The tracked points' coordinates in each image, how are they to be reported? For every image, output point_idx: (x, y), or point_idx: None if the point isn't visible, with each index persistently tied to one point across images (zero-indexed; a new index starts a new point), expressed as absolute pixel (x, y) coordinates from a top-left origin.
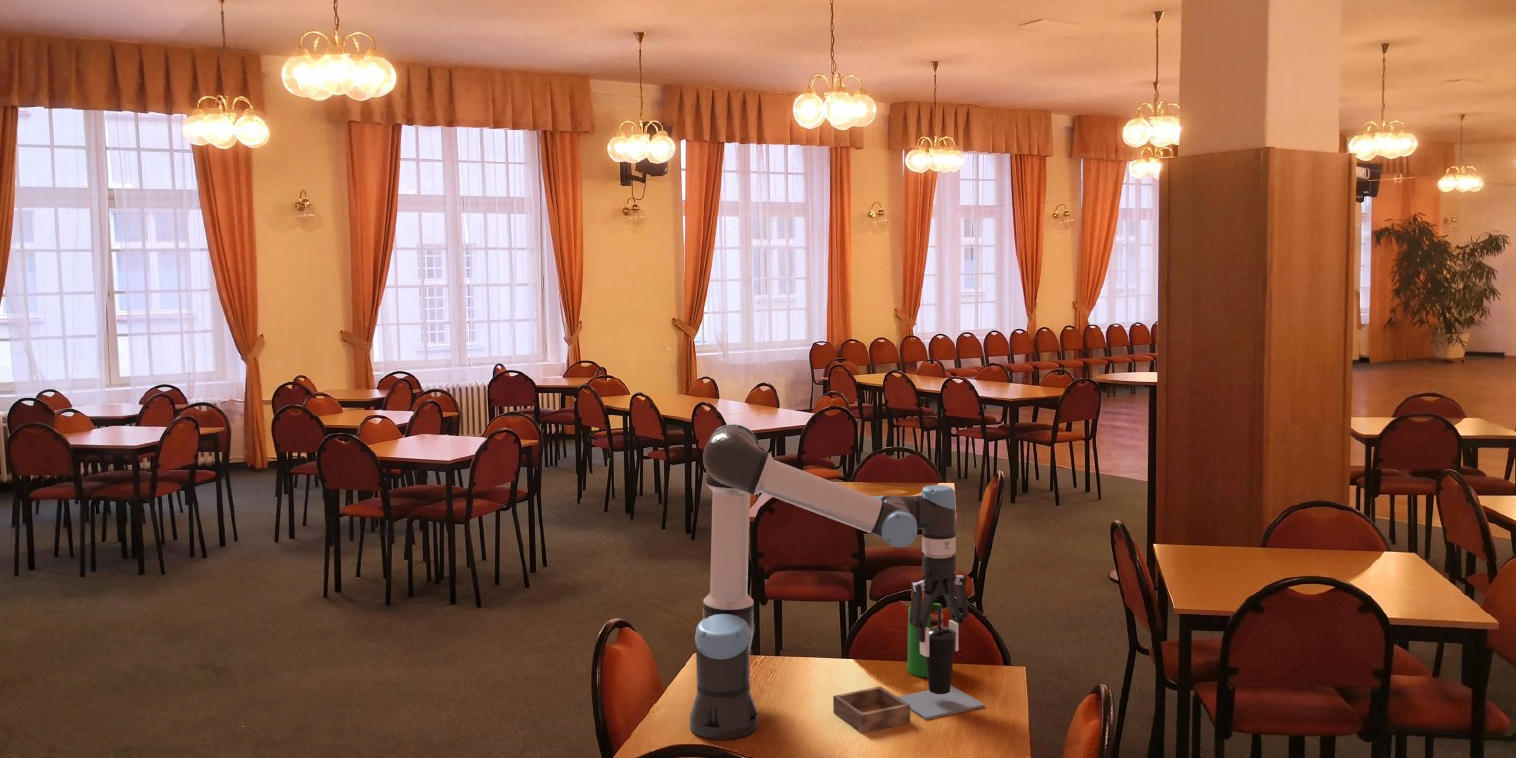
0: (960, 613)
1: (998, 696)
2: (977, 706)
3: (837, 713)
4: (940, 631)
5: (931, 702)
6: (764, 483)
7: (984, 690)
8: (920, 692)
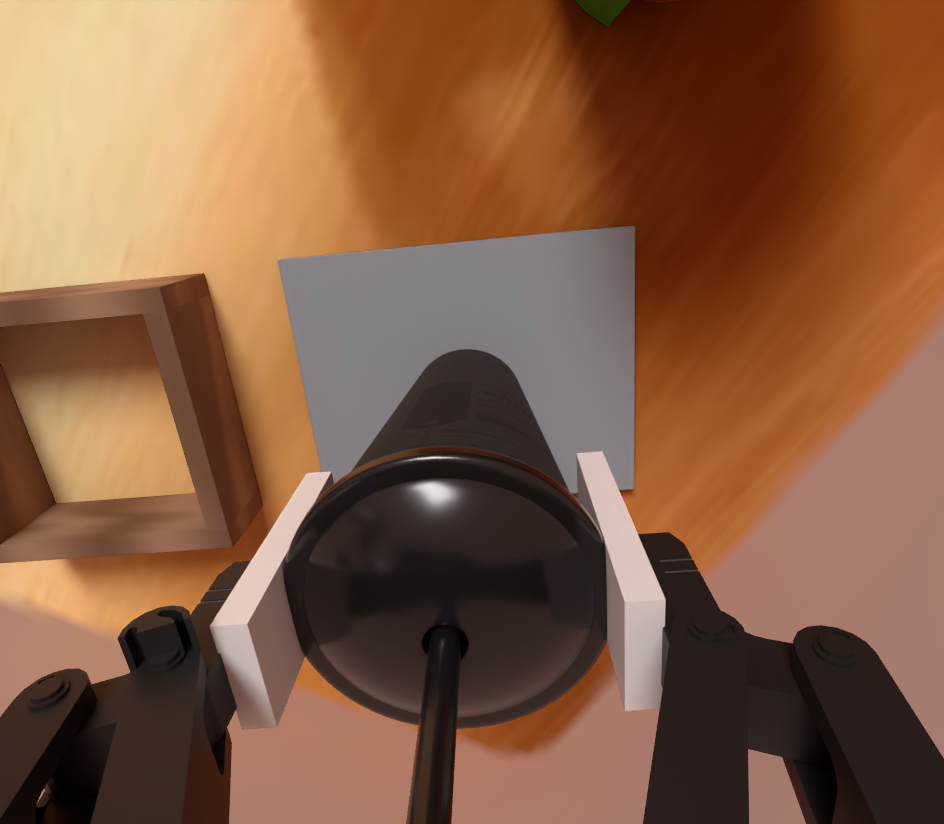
0: (789, 723)
1: (766, 408)
2: None
3: None
4: (416, 696)
5: None
6: None
7: (760, 320)
8: (433, 253)
